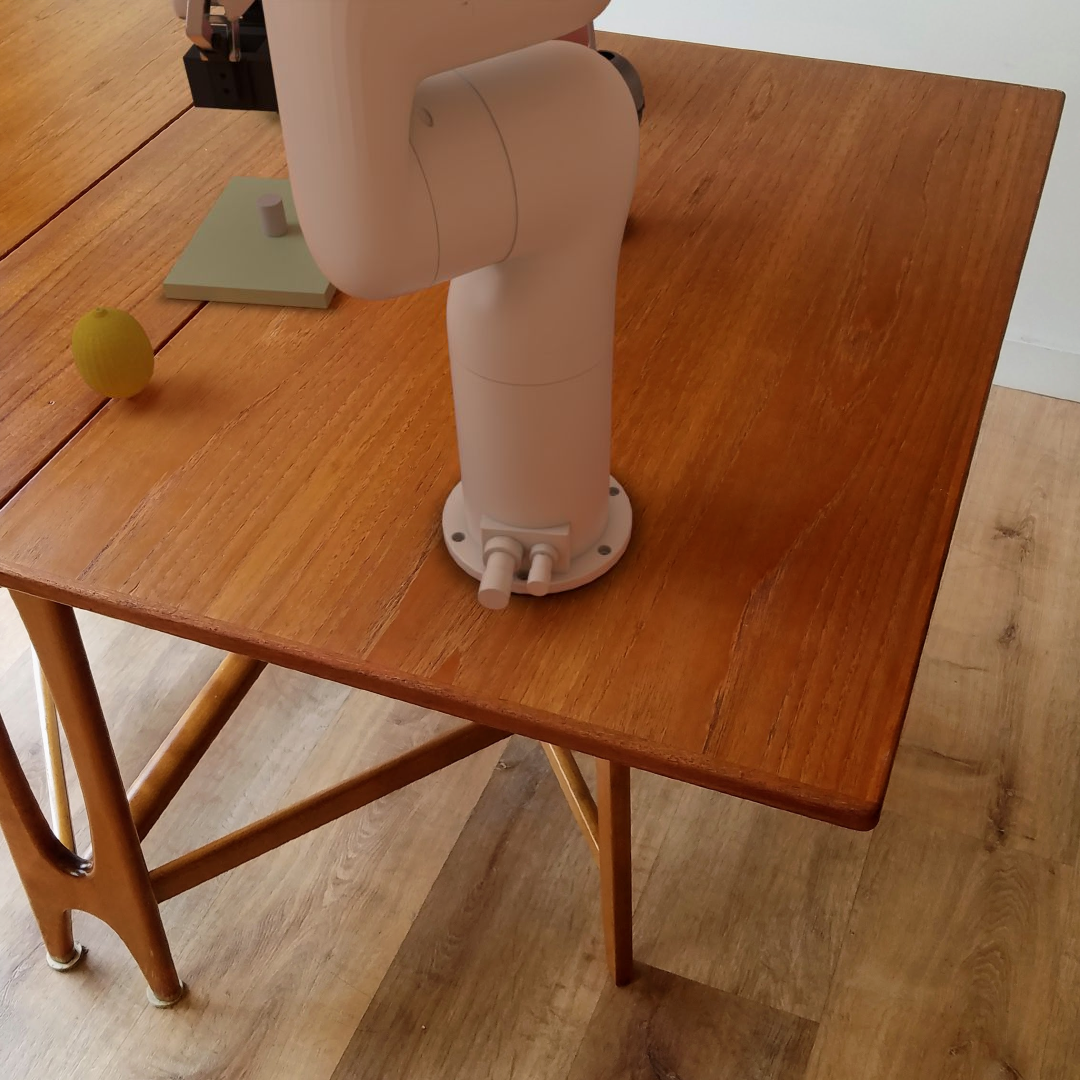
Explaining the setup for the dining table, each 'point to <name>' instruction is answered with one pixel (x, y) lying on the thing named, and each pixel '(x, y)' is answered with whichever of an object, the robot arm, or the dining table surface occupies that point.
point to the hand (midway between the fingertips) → (249, 86)
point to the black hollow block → (258, 63)
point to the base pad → (250, 251)
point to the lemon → (112, 352)
